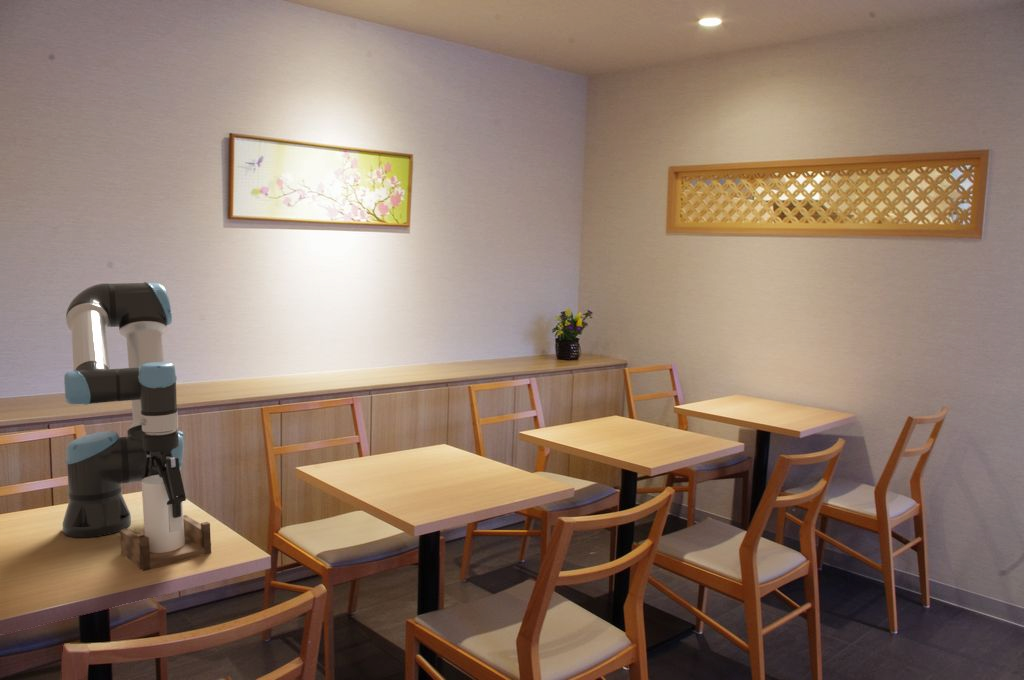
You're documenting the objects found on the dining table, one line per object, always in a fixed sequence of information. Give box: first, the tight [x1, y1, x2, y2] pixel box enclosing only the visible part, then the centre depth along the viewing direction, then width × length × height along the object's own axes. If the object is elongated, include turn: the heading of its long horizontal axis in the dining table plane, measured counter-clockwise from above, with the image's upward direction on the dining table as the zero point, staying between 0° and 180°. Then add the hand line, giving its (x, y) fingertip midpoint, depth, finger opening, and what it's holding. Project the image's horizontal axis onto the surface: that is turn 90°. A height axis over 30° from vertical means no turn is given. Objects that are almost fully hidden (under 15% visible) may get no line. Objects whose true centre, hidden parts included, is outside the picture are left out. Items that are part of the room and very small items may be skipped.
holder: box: [119, 514, 212, 572], centre depth 182 cm, size 14×15×7 cm
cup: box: [141, 474, 185, 553], centre depth 181 cm, size 8×8×16 cm
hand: (164, 523), depth 181 cm, fingers open, 12 cm apart
